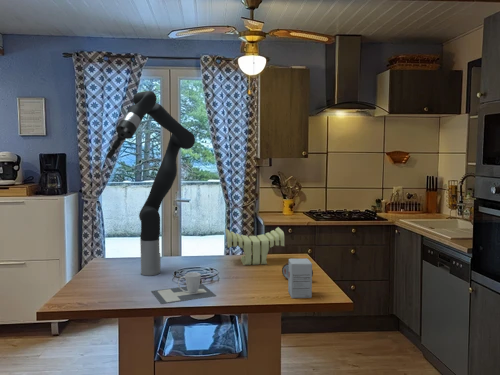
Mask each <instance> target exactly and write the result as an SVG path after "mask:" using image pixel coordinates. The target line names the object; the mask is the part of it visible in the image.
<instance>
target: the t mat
mask: <svg viewBox="0 0 500 375" xmlns="http://www.w3.org/2000/svg"><path fill="white" fill-rule="evenodd" d="M180 287H181V288H182V289H183V290H185V291H187V292H188V289H187V285H186V286H180ZM197 291H198V293H197V294H189V293H186V292H184V291H182V290H181V289H180V288H179V287H178V286H177V287H173V288H172V287H171V288H164V289H155V290H151V291H150V292H151V293H152V295H153V296H154V297H155V298H156V300H157V301H158V302H159V303H160V305H165V304H172V303H178V302H186V301H187V302H188V301H194V300H199V299H207V298H212V297H213V298H214V297H217V295H216V294H215V293H214V292H213V291H212V290H210V289H209V288H208V287H207V286H205V285H204V284H203V283H200V285H199V289H198V290H197Z"/></svg>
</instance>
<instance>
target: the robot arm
mask: <svg viewBox="0 0 500 375" xmlns="http://www.w3.org/2000/svg"><path fill="white" fill-rule="evenodd" d="M132 100H133V105H131V106H130V107H129V109H128V110H127V111H126V113H125V114H124V116H122V118H121V120H120V121H119V123H118V124H117V125H116V128H115V132H116V136H115V137H114V140H113V142H112V144H111V145H112V146H111V148H110V149H109V151H108V153H107V154H106V158H107V159H110V160H112V158H113V157H114V155H115V154H116V153H117V150H119V149H121V146H122V145H123V144H124V143H125V142H126V140H130V139H133V136H134V135H135V133H136V132H137V130H138V128H139V126H140V125H141V122H142V120H143V119H144V117H145V116H146V115H149V116H150V117H151V118H152V119H153V120H154V121H155V123H157V124H158V125H159V126H161V127H162V128H164V129H165V130H166V131H169V132H170V138H169V141H168V143H167V147H166V150H165V153H164V156H163V158H162V161H161V163H160V165H159V168H158V170H157V172H156V175H155V176H154V179H153V180H154V181H153V182H152V186H151V188H150V191H149V194H148V195H147V198H146V200H145V202H144V204H143V205H142V207H141V209H140V211H139V214H138V217H139V221H140V236H139V238H140V239H139V240H140V243H139V244H140V274H141V275H143V276H148V277H149V276H156V275H159V274H160V273H161V271H162V270H161V268H162V266H161V252H160V251H161V250H160V234H161V215H160V212H159V211H160V207H161V205H162V202H163V200H164V198H165V197H166V195H168V193H169V191H170V190H171V189H172V187H173V185H174V182H175V179H176V177H177V176H178V175H177V174H178V164H177V163H178V162H177V159H178V155H179V151H180V149H184V150H190V149H191V148H193V146H194V145H195V142H196V137H195V135H194V133H192V131H190V130H188V129H187V128H185V127H184V126H183V125H182V124H180V122H178V121H177V120H176V119H175V118H174V117H173V116H172V115H171V114H170V113H169V112H168V111H167V110H166V108H165V107H163V106H162V105H161V104H160V103H157V95H156V93H155V92H153V91H152V90H144V91H139V92H137V93H135V94H134V95H133V97H132Z"/></svg>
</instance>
